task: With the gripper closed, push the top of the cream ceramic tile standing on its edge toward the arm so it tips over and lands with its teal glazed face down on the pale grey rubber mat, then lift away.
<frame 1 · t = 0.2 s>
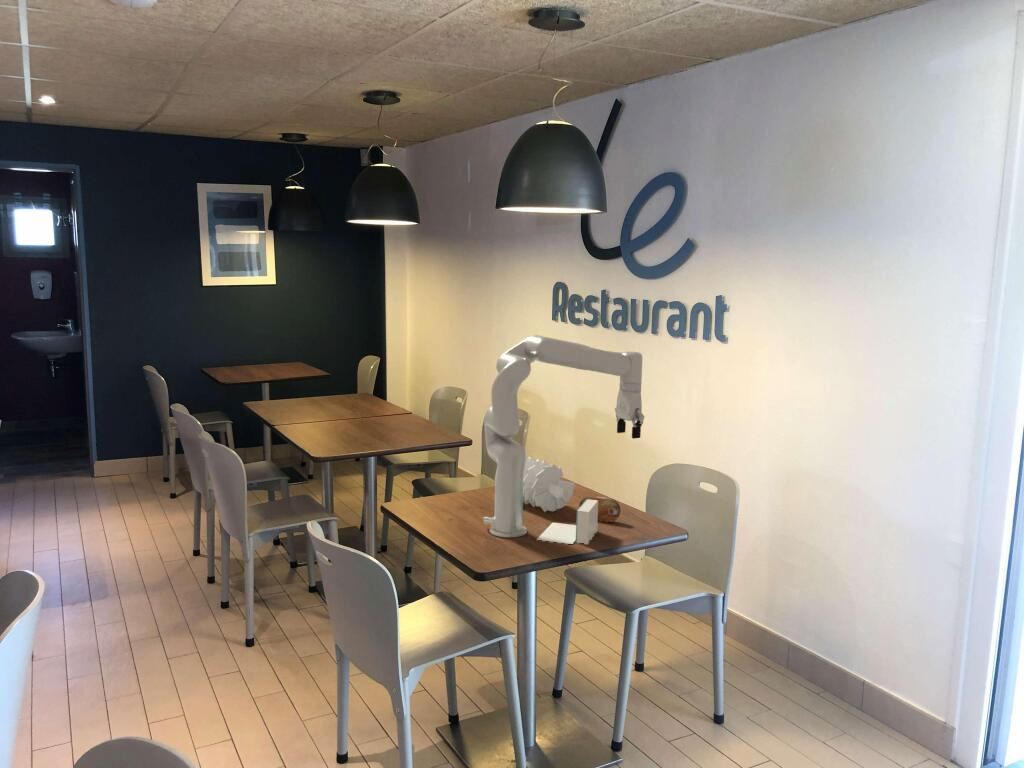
hand: (628, 435, 285), 31 cm above the table, tool pointing down, fingers open, 9 cm apart
tile: (586, 537, 270), on the table
tin: (599, 520, 289), on the table
mat: (562, 533, 273), on the table
spiral staircase: (536, 506, 304), on the table
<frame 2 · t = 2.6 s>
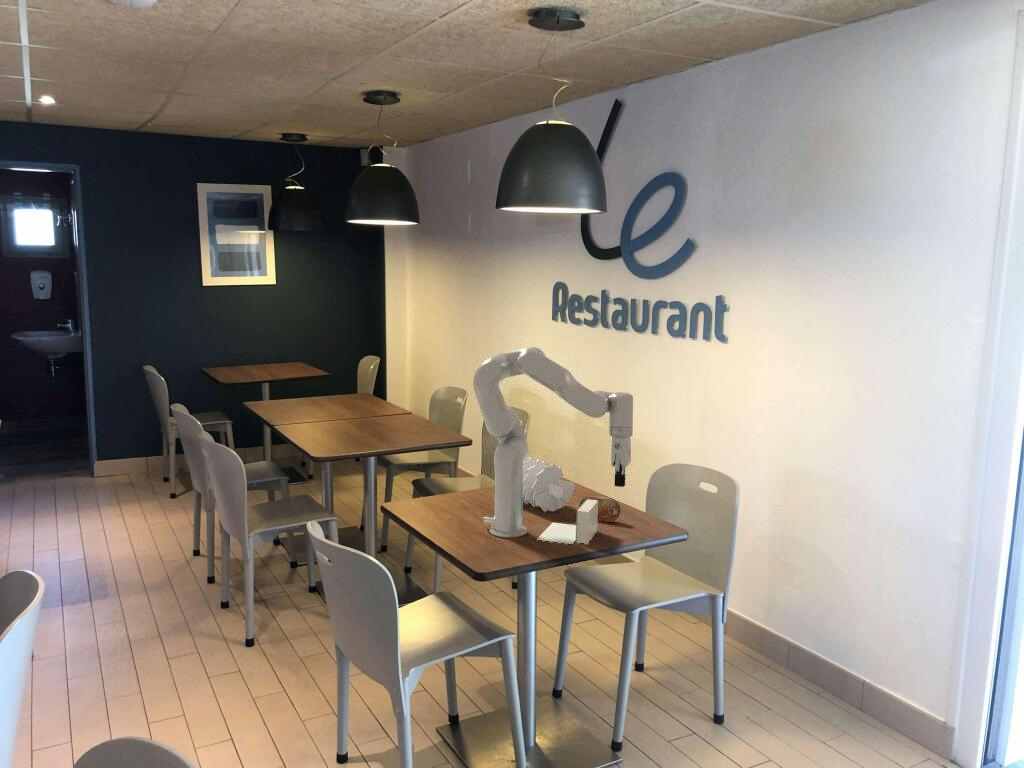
hand: (619, 485, 264), 19 cm above the table, tool pointing down, fingers closed
nothing on the table moved.
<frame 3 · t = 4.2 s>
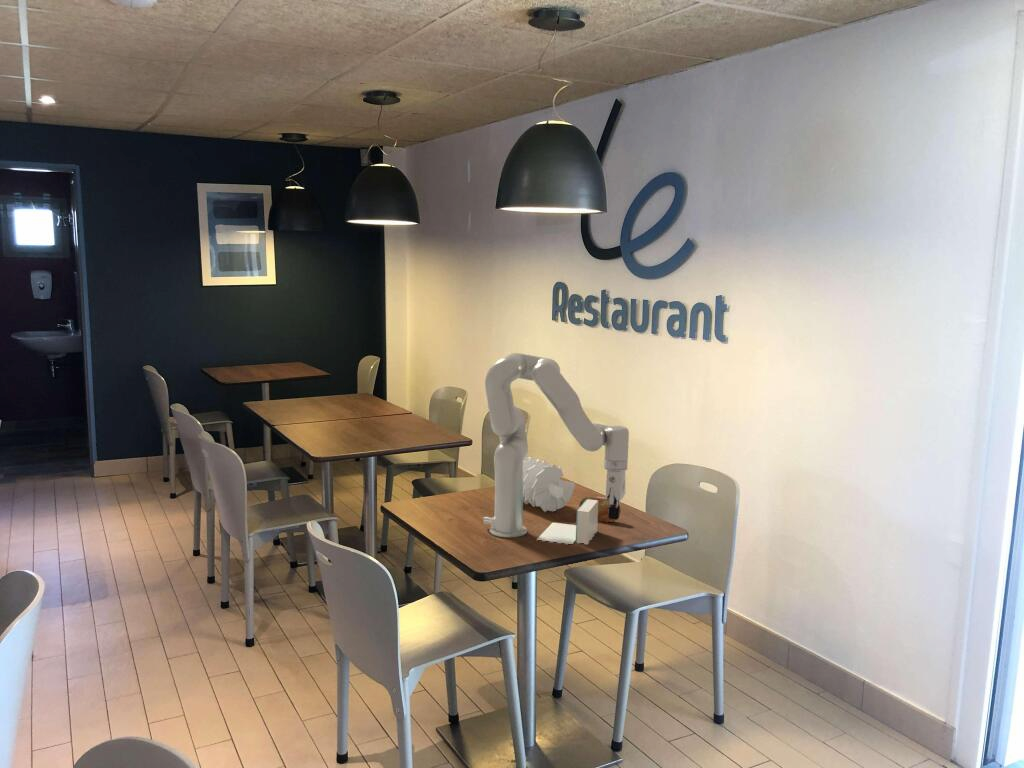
hand: (613, 518, 266), 8 cm above the table, tool pointing down, fingers closed
nothing on the table moved.
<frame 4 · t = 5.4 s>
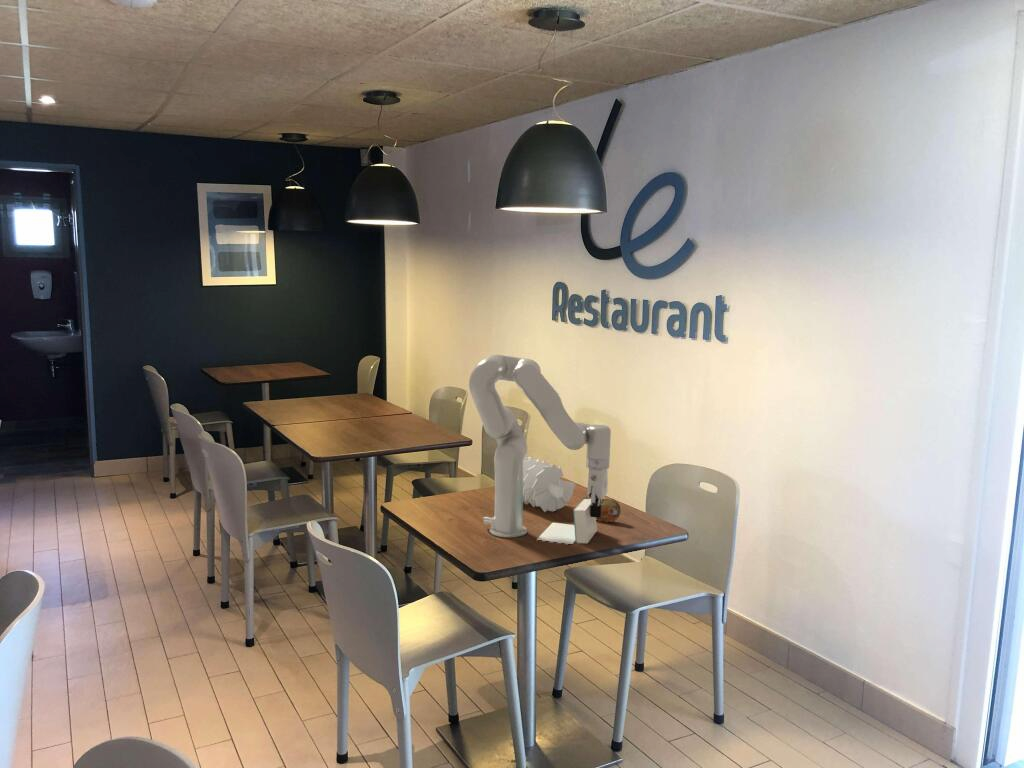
hand: (595, 516, 268), 7 cm above the table, tool pointing down, fingers closed
tile: (586, 536, 270), on the table, tilted 6°
everything else where it was.
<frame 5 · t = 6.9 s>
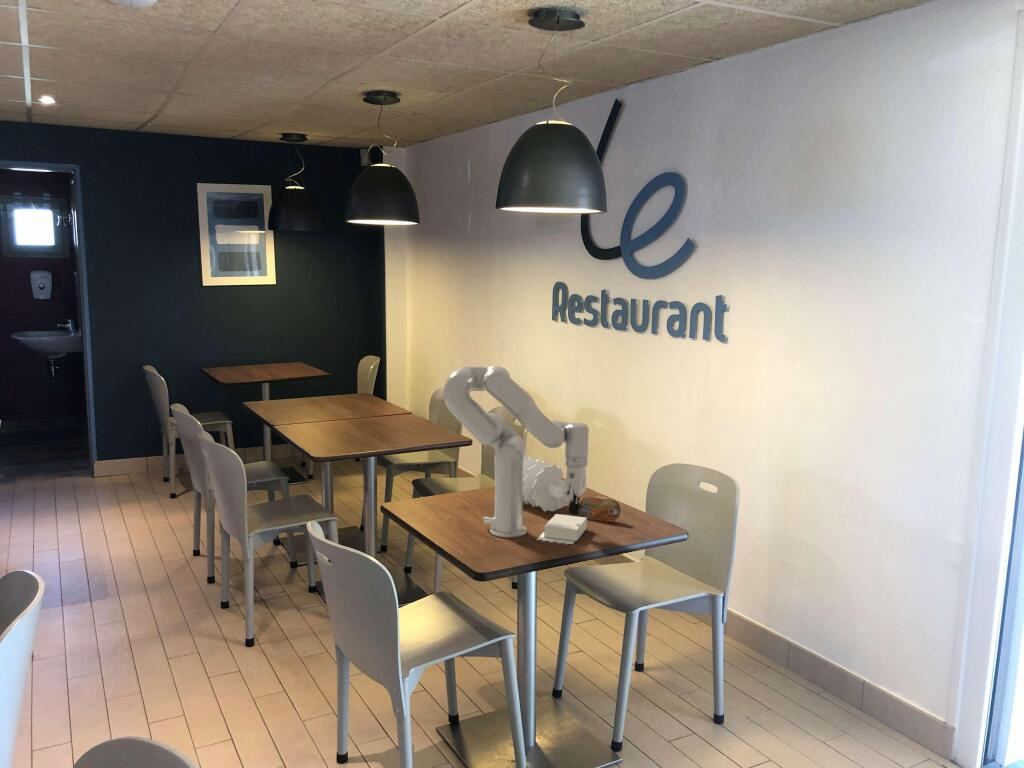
hand: (573, 513, 270), 7 cm above the table, tool pointing down, fingers closed
tile: (581, 529, 270), point 2 cm above the table, tilted 90°, touching mat
everything else where it was.
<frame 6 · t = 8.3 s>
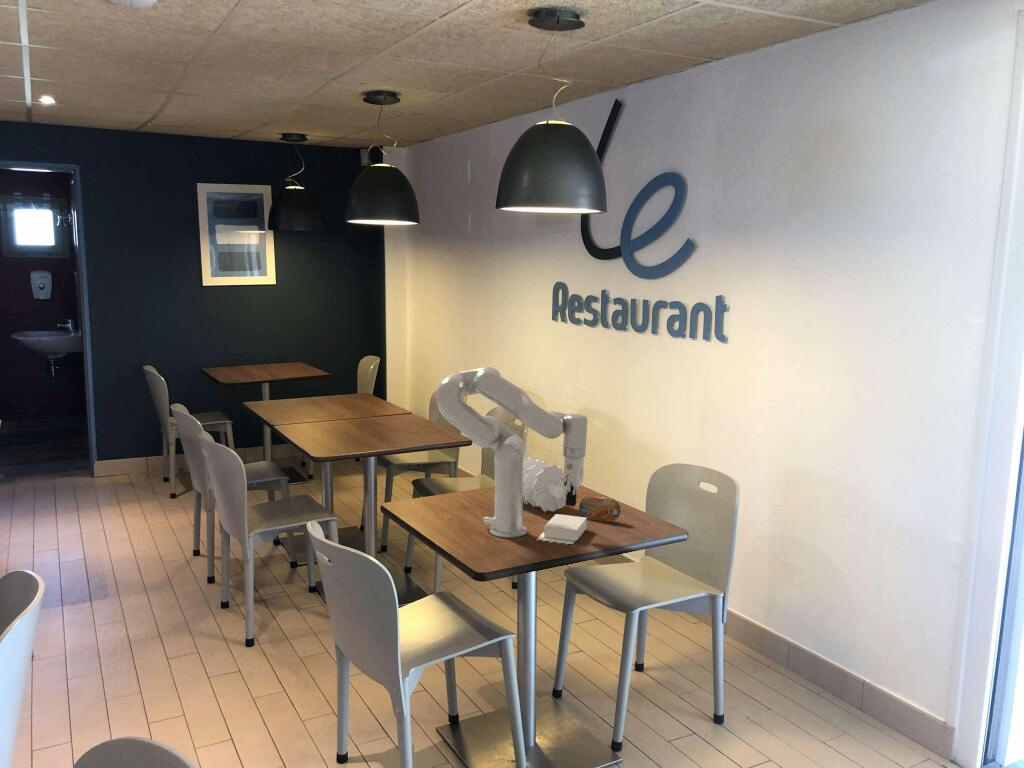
hand: (570, 505, 270), 10 cm above the table, tool pointing down, fingers closed
nothing on the table moved.
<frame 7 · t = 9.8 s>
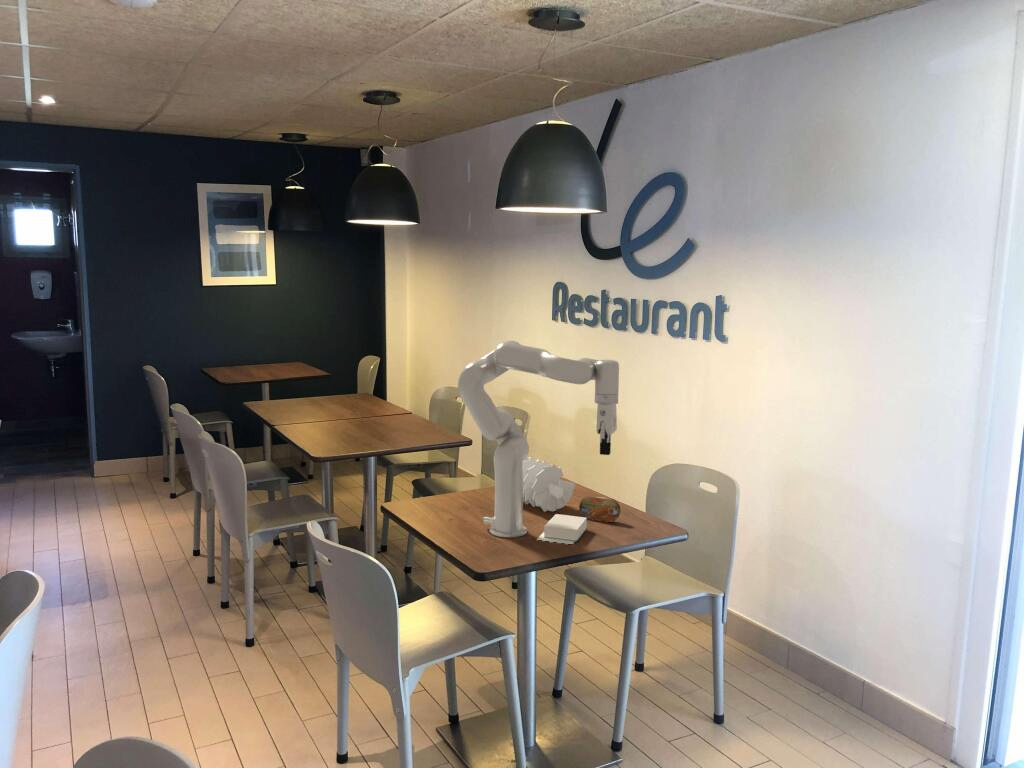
hand: (605, 454, 262), 29 cm above the table, tool pointing down, fingers closed
nothing on the table moved.
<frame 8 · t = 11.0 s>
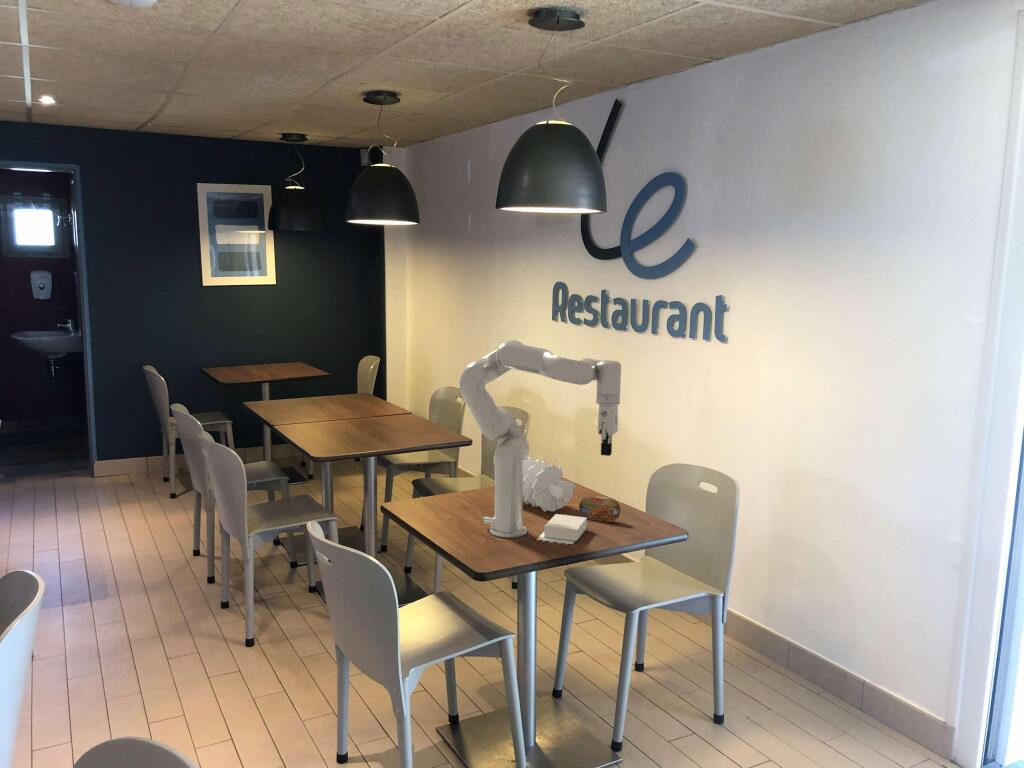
hand: (606, 454, 262), 29 cm above the table, tool pointing down, fingers closed
nothing on the table moved.
at the end: tile tilted 90°; tile touching mat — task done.
